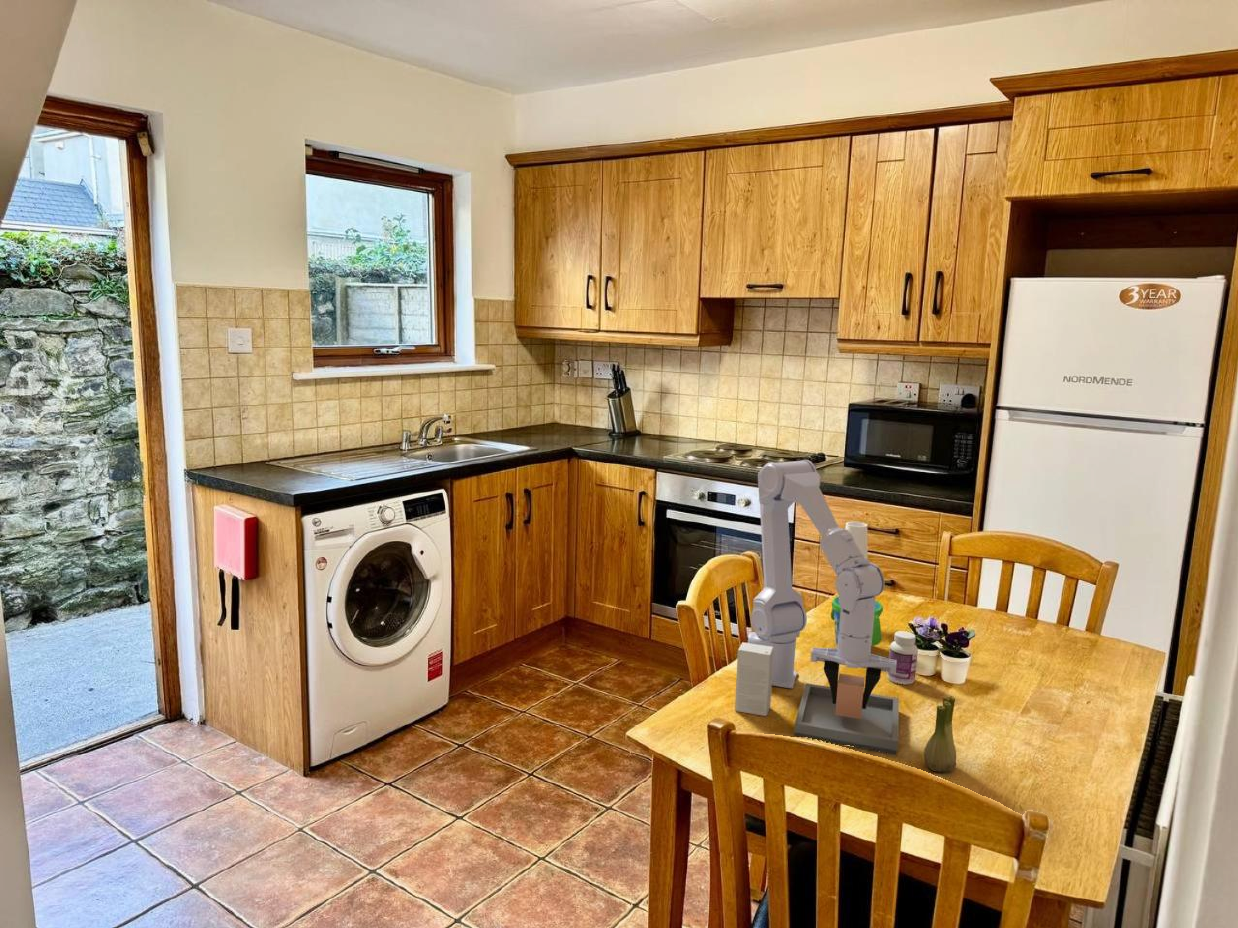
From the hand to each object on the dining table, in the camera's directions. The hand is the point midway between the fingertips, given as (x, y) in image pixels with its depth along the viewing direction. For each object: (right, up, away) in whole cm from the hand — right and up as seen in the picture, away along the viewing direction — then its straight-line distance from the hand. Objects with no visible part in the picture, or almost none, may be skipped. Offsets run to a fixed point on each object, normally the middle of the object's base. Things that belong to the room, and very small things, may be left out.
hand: (849, 703), depth 153 cm
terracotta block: (0, -1, 0) cm, 2 cm away
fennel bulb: (+11, -7, -13) cm, 18 cm away
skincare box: (-17, -3, +5) cm, 17 cm away
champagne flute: (+13, +5, +50) cm, 52 cm away
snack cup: (+11, +2, +36) cm, 37 cm away
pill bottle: (+16, -1, +20) cm, 25 cm away
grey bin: (0, -4, +1) cm, 4 cm away
